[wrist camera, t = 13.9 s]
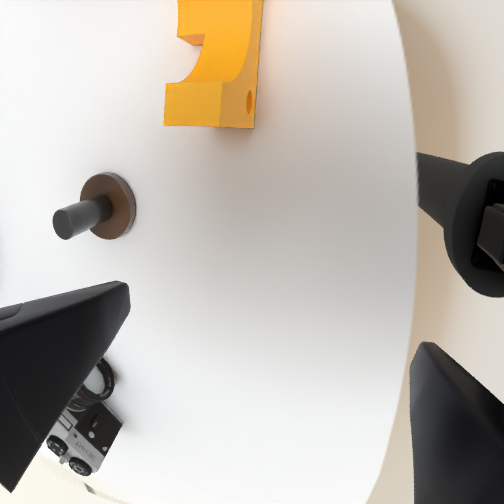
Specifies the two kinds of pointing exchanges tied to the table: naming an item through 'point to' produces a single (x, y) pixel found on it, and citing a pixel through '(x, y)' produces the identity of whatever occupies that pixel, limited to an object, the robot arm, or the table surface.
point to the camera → (87, 424)
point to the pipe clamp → (217, 64)
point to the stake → (98, 209)
